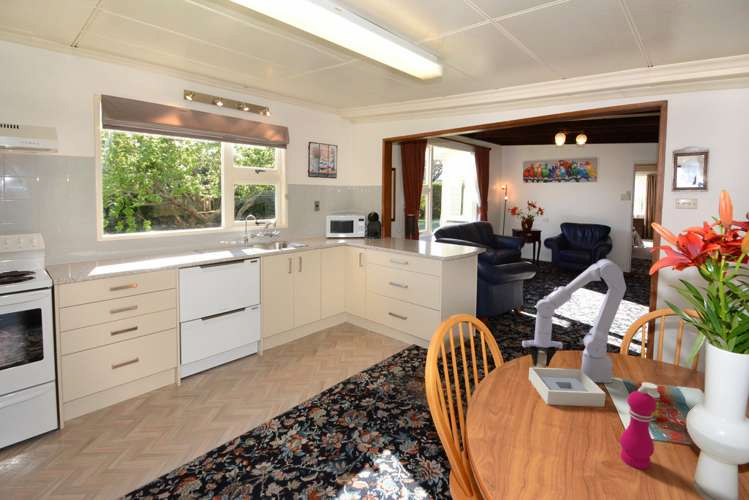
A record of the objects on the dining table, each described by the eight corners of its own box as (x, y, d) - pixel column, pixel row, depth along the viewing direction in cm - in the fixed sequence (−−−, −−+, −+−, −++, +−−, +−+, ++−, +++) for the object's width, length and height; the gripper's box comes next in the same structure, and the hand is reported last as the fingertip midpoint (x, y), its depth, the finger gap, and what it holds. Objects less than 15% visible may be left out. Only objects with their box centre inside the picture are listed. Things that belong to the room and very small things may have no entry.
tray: (578, 380, 148) (579, 369, 147) (604, 406, 130) (605, 393, 129) (528, 379, 148) (529, 367, 148) (547, 404, 131) (548, 391, 130)
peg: (543, 368, 158) (544, 350, 157) (547, 372, 154) (548, 355, 153) (533, 367, 158) (534, 350, 157) (536, 372, 154) (538, 354, 153)
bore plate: (575, 383, 144) (575, 378, 144) (591, 400, 132) (592, 395, 132) (541, 382, 144) (541, 377, 144) (554, 399, 132) (554, 393, 132)
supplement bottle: (651, 423, 121) (655, 391, 119) (631, 414, 125) (635, 383, 124) (660, 418, 124) (664, 386, 122) (640, 409, 128) (643, 379, 127)
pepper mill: (621, 448, 108) (628, 377, 106) (653, 460, 104) (662, 386, 101) (616, 461, 103) (624, 387, 100) (650, 474, 98) (659, 397, 96)
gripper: (558, 328, 158) (555, 361, 159) (520, 327, 158) (518, 360, 160) (566, 334, 151) (563, 369, 152) (526, 333, 151) (524, 367, 153)
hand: (540, 365), depth 156 cm, fingers closed on peg, 4 cm apart
